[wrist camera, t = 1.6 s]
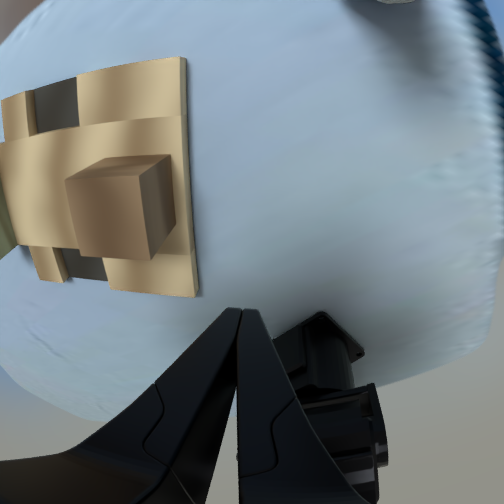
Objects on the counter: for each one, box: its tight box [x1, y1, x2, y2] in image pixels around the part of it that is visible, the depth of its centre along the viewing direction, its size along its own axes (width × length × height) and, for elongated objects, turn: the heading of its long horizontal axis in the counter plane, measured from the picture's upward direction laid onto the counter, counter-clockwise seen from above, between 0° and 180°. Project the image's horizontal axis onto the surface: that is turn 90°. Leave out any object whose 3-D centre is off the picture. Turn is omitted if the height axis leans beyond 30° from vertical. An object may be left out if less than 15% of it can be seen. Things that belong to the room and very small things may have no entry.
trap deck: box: [0, 57, 199, 298], centre depth 18 cm, size 18×16×4 cm
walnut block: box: [64, 154, 176, 261], centre depth 17 cm, size 4×4×4 cm
